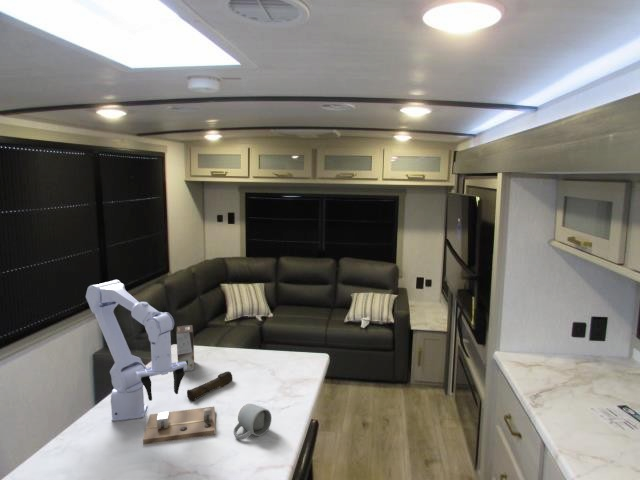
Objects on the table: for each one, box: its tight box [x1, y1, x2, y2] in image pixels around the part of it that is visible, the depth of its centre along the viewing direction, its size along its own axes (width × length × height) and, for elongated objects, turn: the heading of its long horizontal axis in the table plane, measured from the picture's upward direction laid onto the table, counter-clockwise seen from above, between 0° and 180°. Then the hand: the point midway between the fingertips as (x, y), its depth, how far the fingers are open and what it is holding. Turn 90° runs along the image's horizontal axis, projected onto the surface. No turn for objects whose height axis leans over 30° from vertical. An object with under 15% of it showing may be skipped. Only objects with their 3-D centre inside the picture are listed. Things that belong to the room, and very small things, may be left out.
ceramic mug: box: [233, 403, 273, 441], centre depth 129 cm, size 11×8×8 cm
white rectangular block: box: [157, 411, 170, 429], centre depth 130 cm, size 3×5×3 cm, turn 14°
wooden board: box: [142, 406, 216, 446], centre depth 132 cm, size 20×14×5 cm
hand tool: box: [186, 371, 233, 402], centre depth 155 cm, size 19×4×5 cm, turn 140°
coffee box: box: [175, 324, 195, 372], centre depth 174 cm, size 9×6×16 cm
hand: (163, 395), depth 132 cm, fingers open, 7 cm apart
